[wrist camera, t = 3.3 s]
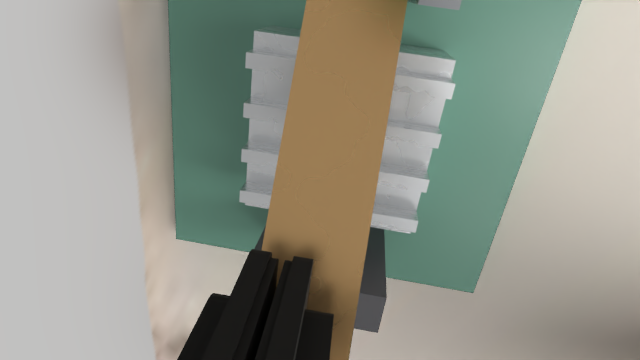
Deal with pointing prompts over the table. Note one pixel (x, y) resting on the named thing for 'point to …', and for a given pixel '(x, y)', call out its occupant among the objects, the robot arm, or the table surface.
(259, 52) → the heat sink
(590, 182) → the table surface
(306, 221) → the strap
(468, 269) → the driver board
